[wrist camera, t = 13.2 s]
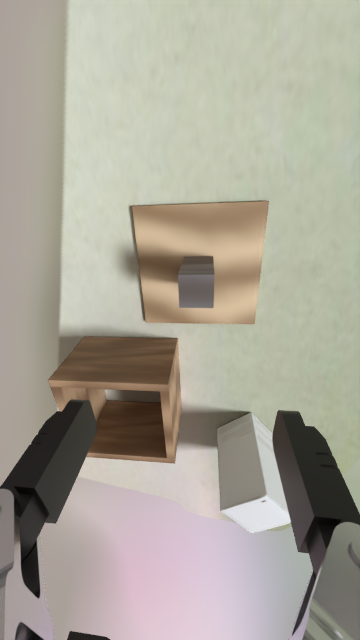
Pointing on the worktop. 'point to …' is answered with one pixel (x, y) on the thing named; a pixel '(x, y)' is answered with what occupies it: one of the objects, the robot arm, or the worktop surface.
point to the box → (125, 374)
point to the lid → (200, 261)
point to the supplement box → (250, 475)
